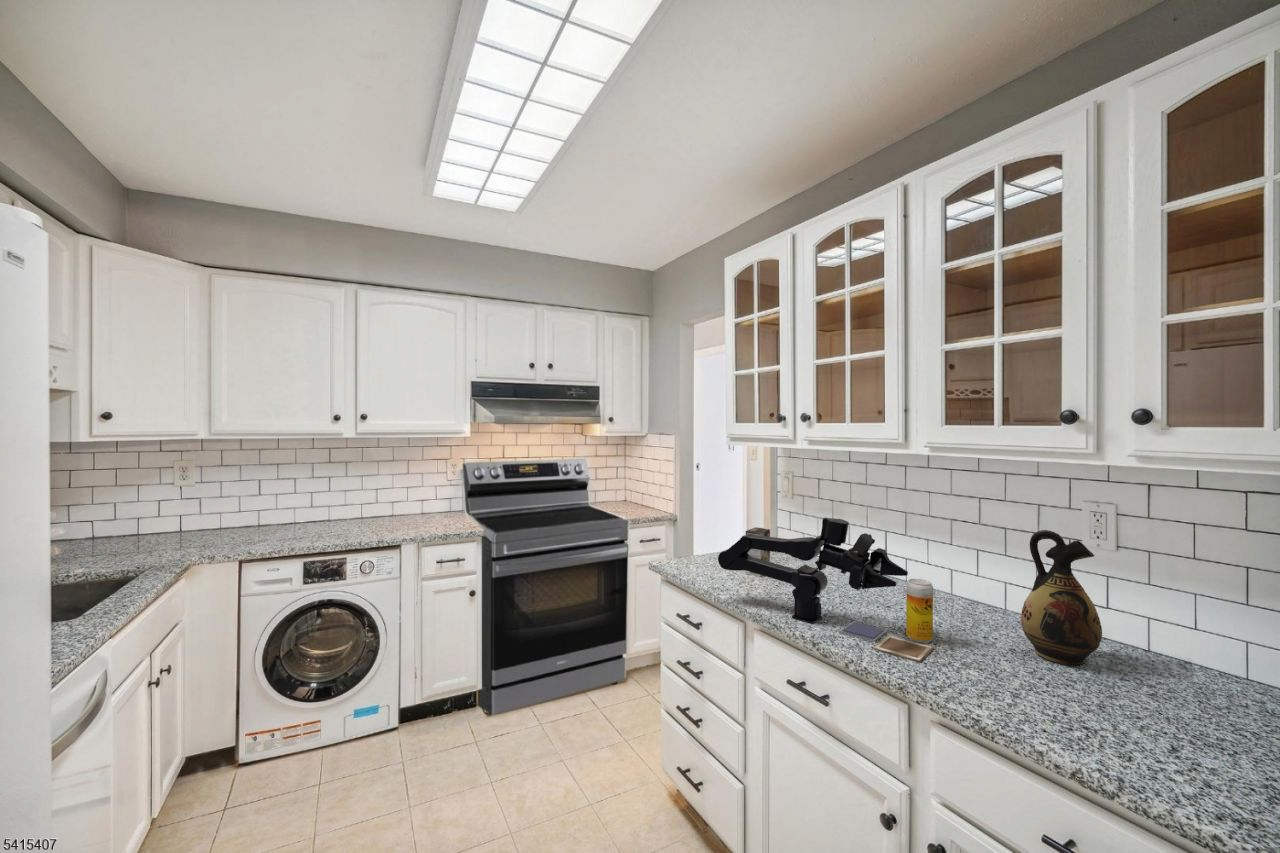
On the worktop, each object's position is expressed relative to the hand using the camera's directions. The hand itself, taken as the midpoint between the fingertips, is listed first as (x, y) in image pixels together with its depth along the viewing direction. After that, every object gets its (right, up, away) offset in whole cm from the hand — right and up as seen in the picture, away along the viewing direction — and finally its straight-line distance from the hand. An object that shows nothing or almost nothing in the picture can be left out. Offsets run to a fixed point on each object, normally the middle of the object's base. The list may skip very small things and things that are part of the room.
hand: (901, 578), depth 139 cm
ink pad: (-8, -16, +5) cm, 18 cm away
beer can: (+5, -16, +2) cm, 17 cm away
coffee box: (-23, -16, +64) cm, 69 cm away
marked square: (-2, -16, -5) cm, 17 cm away
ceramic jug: (+33, -17, -8) cm, 38 cm away
